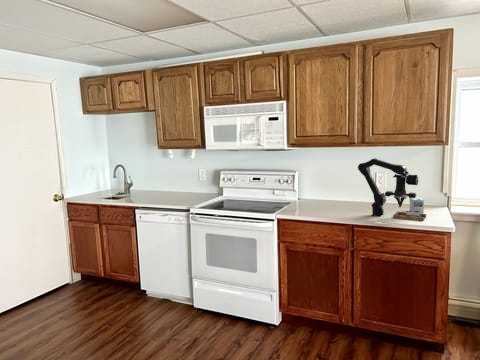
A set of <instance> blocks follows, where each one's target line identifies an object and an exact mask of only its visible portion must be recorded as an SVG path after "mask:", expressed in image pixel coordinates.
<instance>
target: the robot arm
mask: <svg viewBox="0 0 480 360" xmlns="http://www.w3.org/2000/svg"><path fill="white" fill-rule="evenodd" d="M372 166H378V167H381V168H383V169H387V170H389V171H392V172H393V173H394V175H393V176H392V178H396V179H395V188H394V191H393V190H392V191H391V190H387V191H386V192H383V193H382V192H381V191H380V190H379V187H378V185H377V183H376V182H375V180H374V177H373V176H372V173H371V167H372ZM357 170H358V171H359V173H360V174H361V175H362V176H363V177H364V178H365V180H366V182H367V184H368V187H369V189H370V190H371V193H372V194H373V200H374V202H372V204H371V209H372V214H371V216H372V217H379V218H380V217H382V216H383V215H384V214H385V213H384V207H383V206H384V204H386V203H387V197H391V196H393V198H394V199H395V201H397V204H398V207H399V208H401V207H402V206H403V203H404V200H405V199H407V198H408V197H409V198H408V199H410V198H416V197H417V193H416V192H411V191H410V192H409V193H407V190H406V185H408V186H418V185H419V176H418V174H410V173H409V171H408V169H407V167H406V166H405V165H402V164H394V163H391V162H388V161H384V160H381V159H377V158H371V159H370V160H368V161H366V162H362V163H359V164H358V166H357Z"/></svg>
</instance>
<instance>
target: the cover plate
mask: <svg viewBox="0 0 480 360" xmlns="http://www.w3.org/2000/svg"><path fill="white" fill-rule="evenodd" d="M406 216H413V217H422V213H418V212H411V211H408V213H407V214H406Z"/></svg>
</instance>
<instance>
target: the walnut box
mask: <svg viewBox="0 0 480 360" xmlns="http://www.w3.org/2000/svg"><path fill="white" fill-rule="evenodd" d="M408 212H409V211H408ZM408 212H407V211H396V212H395V213H394V214H393V217H392V218H393V219H397V220H409V221H418V222H419V221H420V222H425V219H426V218H427V213H424V214H422V217H413V216H406V214H407V213H408Z"/></svg>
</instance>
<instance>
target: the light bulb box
mask: <svg viewBox="0 0 480 360" xmlns="http://www.w3.org/2000/svg"><path fill="white" fill-rule="evenodd" d="M424 202H425V200H424V199H423V198H421V197H420V196H416V198H409V212H418V213H422V214H425V211H424V210H425V209H424V207H425V206H424V205H425V203H424Z"/></svg>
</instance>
